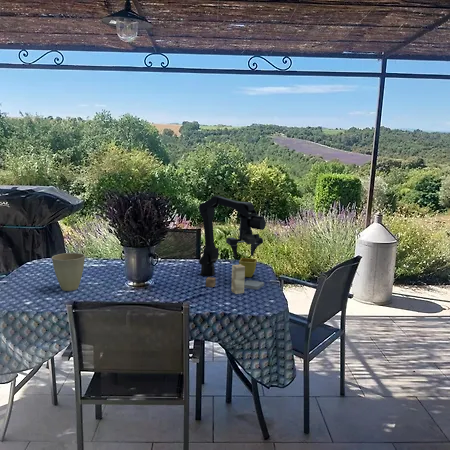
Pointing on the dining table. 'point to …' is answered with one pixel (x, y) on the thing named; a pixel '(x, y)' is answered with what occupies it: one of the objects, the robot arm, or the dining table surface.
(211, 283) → the walnut cube
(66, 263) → the plant pot
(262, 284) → the slate plinth
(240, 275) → the beech pillar
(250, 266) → the flower pot
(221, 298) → the dining table surface
